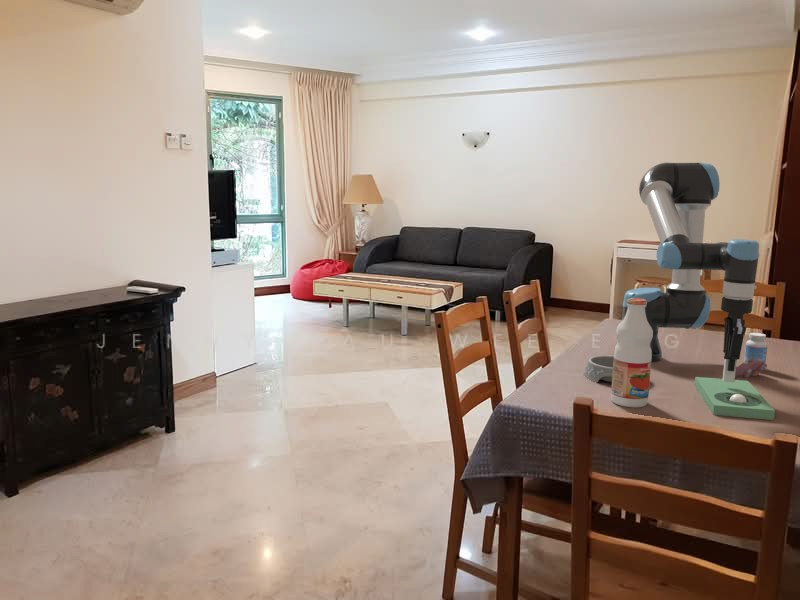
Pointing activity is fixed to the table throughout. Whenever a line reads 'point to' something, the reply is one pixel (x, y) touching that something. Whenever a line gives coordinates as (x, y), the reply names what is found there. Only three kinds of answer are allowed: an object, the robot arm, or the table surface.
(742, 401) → the ball
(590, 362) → the dog bowl
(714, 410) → the mat
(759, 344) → the pill bottle
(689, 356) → the table surface
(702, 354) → the table surface
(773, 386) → the table surface
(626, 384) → the fruit juice
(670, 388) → the table surface
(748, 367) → the video game controller
